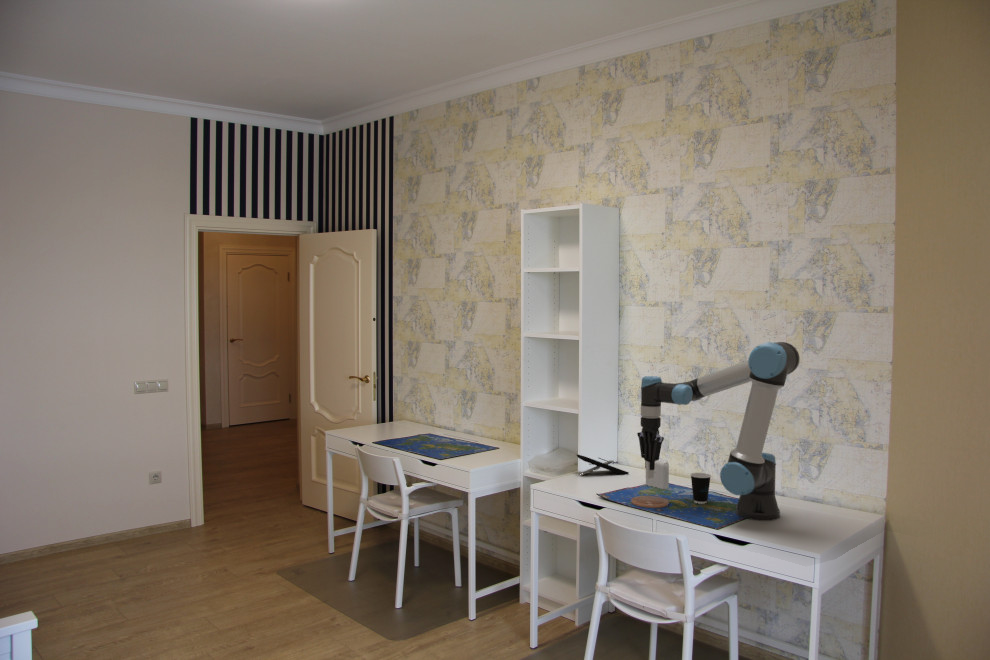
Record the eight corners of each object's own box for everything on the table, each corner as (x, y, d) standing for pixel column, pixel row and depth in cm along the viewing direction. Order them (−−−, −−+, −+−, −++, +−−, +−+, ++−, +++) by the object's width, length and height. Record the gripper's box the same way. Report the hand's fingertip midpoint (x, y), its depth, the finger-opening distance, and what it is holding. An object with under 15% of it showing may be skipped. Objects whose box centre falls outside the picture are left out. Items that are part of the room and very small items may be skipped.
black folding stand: (619, 472, 336) (619, 450, 336) (629, 476, 327) (629, 454, 327) (575, 474, 331) (575, 452, 330) (584, 479, 321) (584, 456, 321)
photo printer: (644, 486, 308) (644, 457, 307) (650, 484, 310) (650, 455, 310) (663, 490, 300) (664, 461, 300) (670, 489, 303) (670, 459, 302)
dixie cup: (706, 506, 276) (706, 478, 276) (686, 503, 281) (687, 475, 280) (713, 502, 282) (714, 474, 282) (694, 498, 287) (694, 471, 287)
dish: (676, 505, 277) (676, 501, 277) (647, 509, 271) (647, 506, 271) (652, 496, 290) (652, 493, 290) (623, 501, 283) (623, 497, 283)
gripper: (669, 418, 276) (668, 480, 276) (647, 413, 287) (646, 473, 288) (654, 419, 272) (653, 482, 273) (632, 414, 284) (631, 475, 284)
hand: (649, 477), depth 280 cm, fingers closed
